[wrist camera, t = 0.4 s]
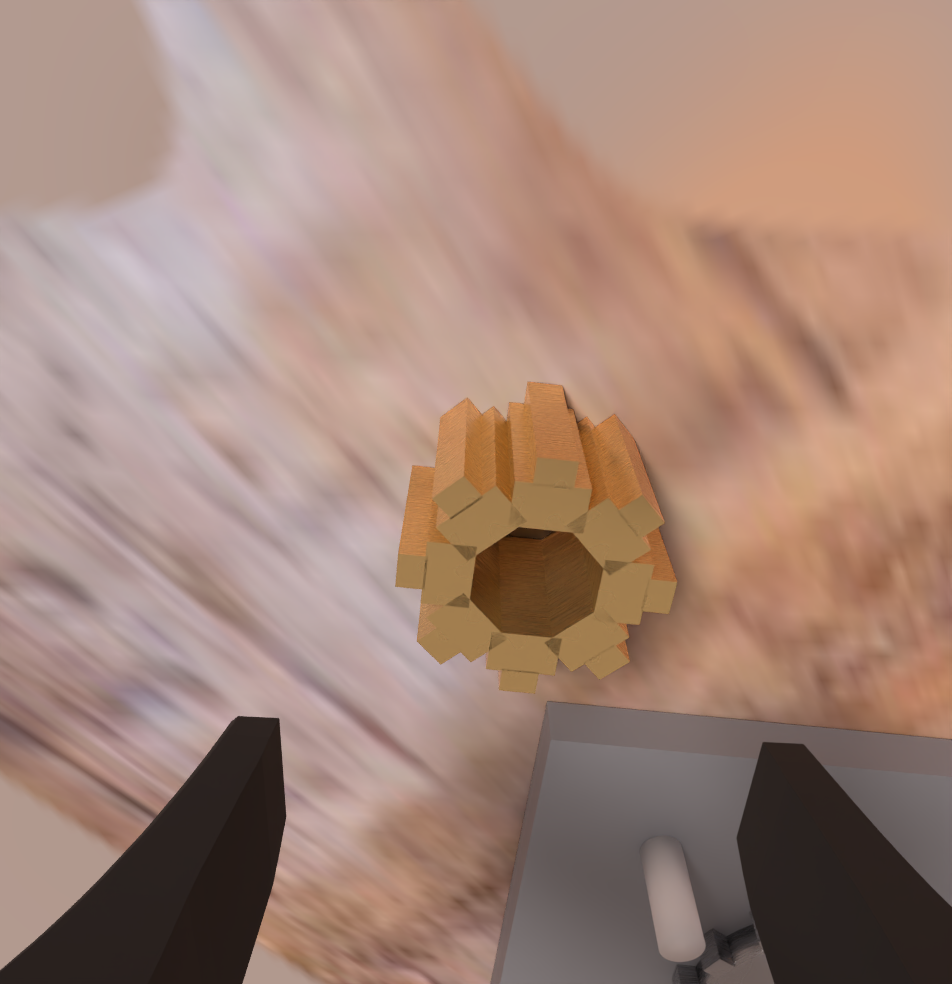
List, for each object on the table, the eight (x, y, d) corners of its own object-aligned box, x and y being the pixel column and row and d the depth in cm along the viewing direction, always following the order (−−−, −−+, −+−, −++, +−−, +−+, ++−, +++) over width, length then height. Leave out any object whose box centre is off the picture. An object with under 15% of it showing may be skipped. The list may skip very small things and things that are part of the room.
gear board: (994, 743, 25) (1090, 877, 21) (851, 1013, 31) (905, 1157, 27) (547, 701, 24) (559, 831, 20) (490, 985, 31) (491, 1129, 27)
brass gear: (667, 397, 20) (706, 475, 17) (619, 599, 23) (644, 703, 19) (421, 369, 20) (407, 443, 16) (402, 577, 23) (387, 679, 19)
